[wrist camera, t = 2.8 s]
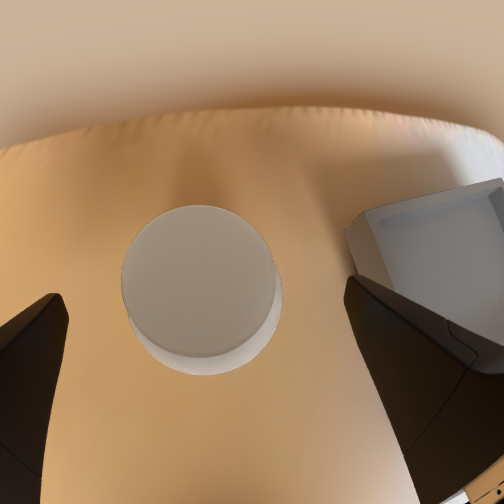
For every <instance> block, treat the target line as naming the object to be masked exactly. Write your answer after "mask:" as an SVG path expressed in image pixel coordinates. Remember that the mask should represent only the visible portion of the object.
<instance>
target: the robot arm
mask: <svg viewBox="0 0 504 504" xmlns="http://www.w3.org/2000/svg"><path fill="white" fill-rule="evenodd" d="M344 305H345V308H346V311H347V314H348V317H349V320H350V324H351V327H352V330H353V333H354V336H355V339H356V342H357V345H358V347H359V349H360V352H361V354H362V356H363V359H364V361H365V363H366V365H367V368H368V370H369V372H370V375H371V377H372V379H373V382H374V384H375V386H376V389H377V391H378V393H379V396H380V398H381V401H382V403H383V406H384V408H385V410H386V413H387V415H388V418H389V420H390V423H391V425H392V428H393V430H394V433H395V435H396V438H397V441H398V443H399V446H400V448H401V451H402V454H403V455H404V459H405V462H406V465H407V468H408V470H409V473H410V476H411V478H412V481H413V484H414V487H415V490H416V493H417V495H418V498H419V501H420V504H444V503H446V502H447V501H449V500H451V499H453V498H455V497H456V496H458V495H460V494H462V493H463V492H465V493H466V495H467V497H468V499H469V501H468V502H467V503H465V504H504V346H503V345H500V344H498V343H496V342H494V341H492V340H489V339H487V338H485V337H483V336H481V335H478V334H476V333H474V332H472V331H470V330H468V329H466V328H464V327H462V326H460V325H458V324H456V323H454V322H452V321H450V320H449V319H447V320H446V318H445V317H443V316H441V315H439V314H437V313H435V312H433V311H431V310H429V309H427V308H426V307H424V306H422V305H420V304H418V303H416V302H414V301H412V300H410V299H408V298H406V297H404V296H402V295H400V294H398V293H396V292H394V291H393V290H391V289H389V288H387V287H385V286H383V285H381V284H379V283H377V282H375V281H373V280H371V279H369V278H367V277H365V276H363V275H352V276H349V277H348V280H347V284H346V289H345V294H344ZM68 323H69V315H68V312H67V309H66V307H65V304H64V301H63V299H62V296H61V295H60V294H59V293H49V294H47V295H45V296H44V297H42V298H41V299H39V300H38V301H36V302H35V303H34V304H32V305H31V306H29V307H28V308H26V309H25V310H24V311H22V312H21V313H19V314H18V315H16V316H15V317H14V318H12V319H11V320H9V321H8V322H7V323H5V324H4V325H3V326H1V327H0V504H40V494H41V481H42V480H41V478H42V469H43V460H44V452H45V445H46V438H47V432H48V426H49V420H50V414H51V409H52V404H53V399H54V394H55V390H56V385H57V381H58V376H59V372H60V368H61V364H62V359H63V353H64V346H65V340H66V334H67V329H68Z"/></svg>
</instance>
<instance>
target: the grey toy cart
mask: <svg viewBox="0 0 504 504" xmlns="http://www.w3.org/2000/svg"><path fill="white" fill-rule="evenodd" d="M343 234H344V237H345V239H346V242H347V244H348V247H349V249H350V252H351V255H352V257H353V260H354V266H355V270H356V272H357V275H363V276H365V277H367V278H369V279H371V280H373V281H375V282H377V283H379V284H381V285H383V286H385V287H387V288H389V289H391V290H393V291H394V292H396V293H398V294H400V295H402V296H404V297H406V298H408V299H410V300H412V301H414V302H416V303H418V304H420V305H422V306H424V307H426V308H427V309H429V310H431V311H433V312H435V313H437V314H439V315H441V316H443V317H445V318H446V320H447V319H449V320H450V321H452V322H454V323H456V324H458V325H460V326H462V327H464V328H466V329H468V330H470V331H472V332H474V333H476V334H478V335H481V336H483V337H485V338H487V339H489V340H492V341H494V342H496V343H498V344H500V345H503V346H504V182H503V180H502V178H497V179H493V180H489V181H484V182H480V183H476V184H472V185H468V186H463V187H459V188H455V189H451V190H447V191H443V192H439V193H435V194H431V195H426V196H422V197H418V198H414V199H410V200H406V201H402V202H398V203H394V204H390V205H386V206H382V207H378V208H374V209H370V210H366V211H363V212H362V213H361V214H360V215H359V216H358V217H357V218H356V219H355V220H354V221H353V222H352V223H351V224H350V225H349V226H348V227H347V228H346V229H345V230H344V231H343Z"/></svg>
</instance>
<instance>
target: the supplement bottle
mask: <svg viewBox="0 0 504 504" xmlns="http://www.w3.org/2000/svg"><path fill="white" fill-rule="evenodd" d="M121 289H122V296H123V300H124V304H125V307H126V309H127V312H128V317H129V320H130V324H131V326H132V329H133V331H134V333H135V335H136V336H137V338H138V340H139V341H140V343H141V344H142V345H143V347H144V348H145V349H146V350H147V351H148V352H149V353H150V354H151V355H152V356H153V357H154V358H155V359H157V360H158V361H160V362H161V363H163V364H164V365H166V366H168V367H170V368H172V369H174V370H177V371H179V372H183V373H187V374H193V375H216V374H222V373H226V372H229V371H232V370H234V369H237V368H239V367H241V366H243V365H244V364H246V363H248V362H249V361H251V360H252V359H253V358H254V357H256V356H257V355H258V354H259V353H260V352H261V351H262V350H263V349H264V347H265V346H266V345H267V344H268V342H269V341H270V339H271V338H272V336H273V334H274V332H275V330H276V328H277V325H278V323H279V320H280V316H281V311H282V303H283V293H282V285H281V280H280V276H279V273H278V270H277V268H276V266H275V264H274V261H273V257H272V255H271V252H270V250H269V248H268V246H267V244H266V242H265V241H264V239H263V237H262V236H261V235H260V233H259V232H258V231H257V230H256V229H255V228H254V227H253V226H252V225H251V224H250V223H249V222H247V221H246V220H245V219H243V218H242V217H240V216H239V215H237V214H235V213H233V212H231V211H228V210H226V209H223V208H219V207H215V206H209V205H188V206H183V207H179V208H175V209H172V210H170V211H167V212H165V213H163V214H161V215H159V216H158V217H156V218H154V219H153V220H152V221H150V222H149V223H148V224H147V225H146V226H145V227H144V228H143V229H142V230H141V231H140V232H139V233H138V235H137V236H136V237H135V238H134V240H133V242H132V243H131V245H130V247H129V249H128V251H127V253H126V256H125V259H124V263H123V267H122V273H121Z"/></svg>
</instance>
